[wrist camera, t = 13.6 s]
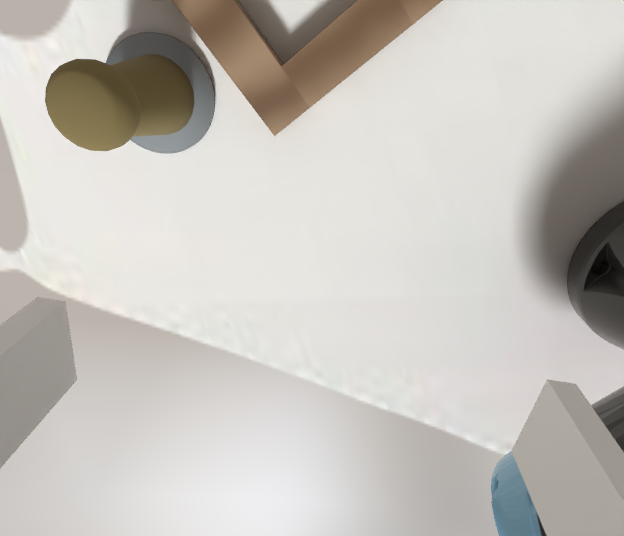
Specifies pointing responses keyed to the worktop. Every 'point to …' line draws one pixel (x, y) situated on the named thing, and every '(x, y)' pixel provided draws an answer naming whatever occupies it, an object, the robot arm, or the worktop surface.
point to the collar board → (305, 63)
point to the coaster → (197, 78)
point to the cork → (118, 100)
